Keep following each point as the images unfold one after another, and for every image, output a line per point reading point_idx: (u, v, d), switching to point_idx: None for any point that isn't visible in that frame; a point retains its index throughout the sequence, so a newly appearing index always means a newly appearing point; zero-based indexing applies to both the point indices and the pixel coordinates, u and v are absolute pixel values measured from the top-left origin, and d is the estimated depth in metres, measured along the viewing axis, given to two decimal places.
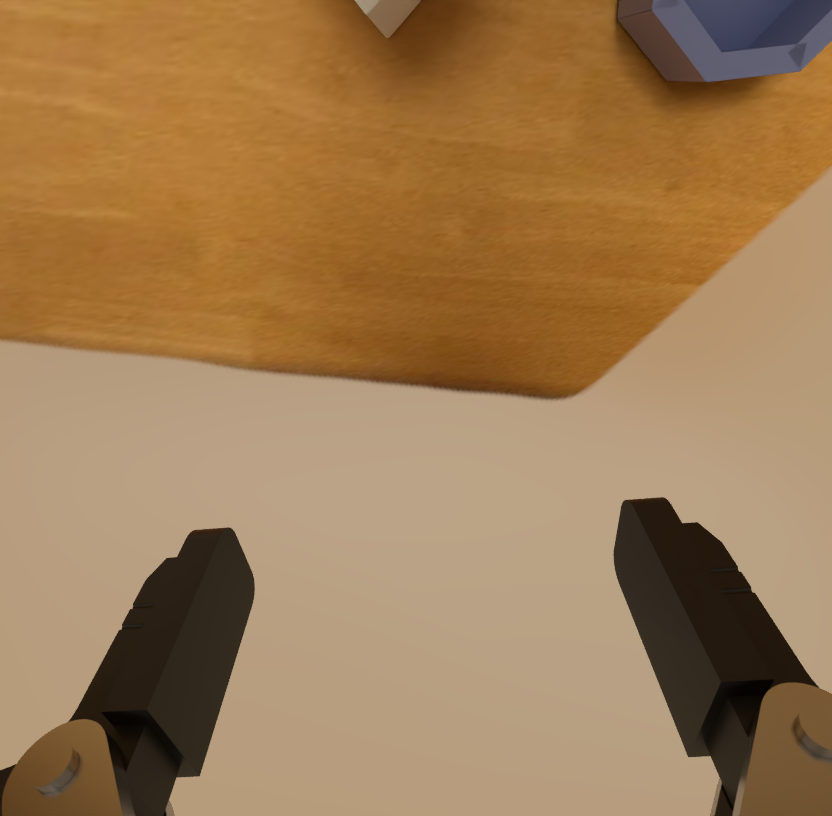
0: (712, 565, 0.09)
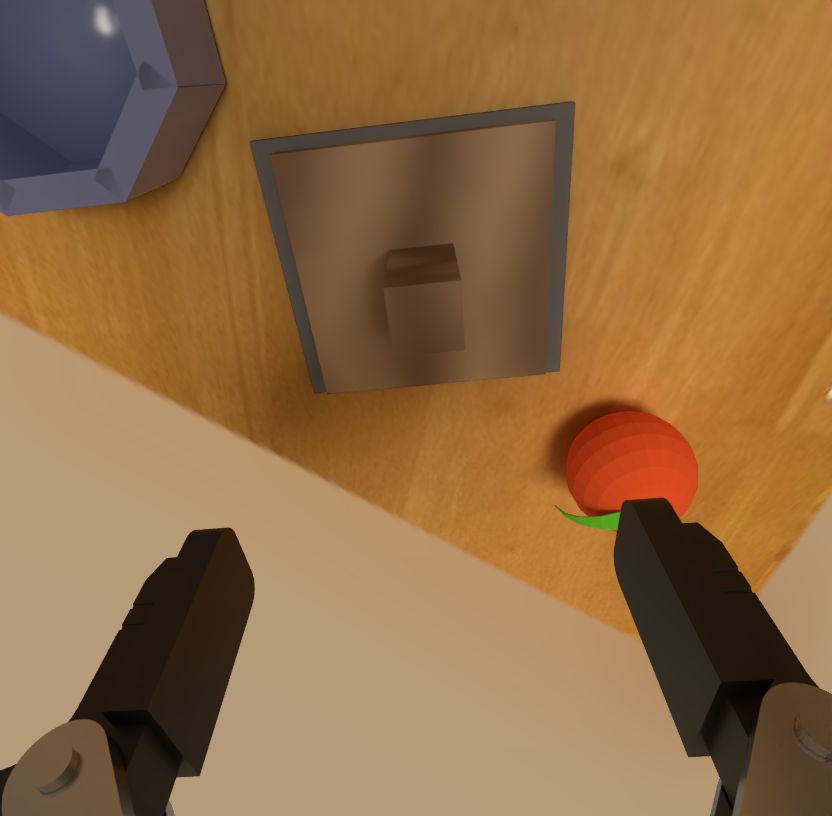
0: (712, 565, 0.09)
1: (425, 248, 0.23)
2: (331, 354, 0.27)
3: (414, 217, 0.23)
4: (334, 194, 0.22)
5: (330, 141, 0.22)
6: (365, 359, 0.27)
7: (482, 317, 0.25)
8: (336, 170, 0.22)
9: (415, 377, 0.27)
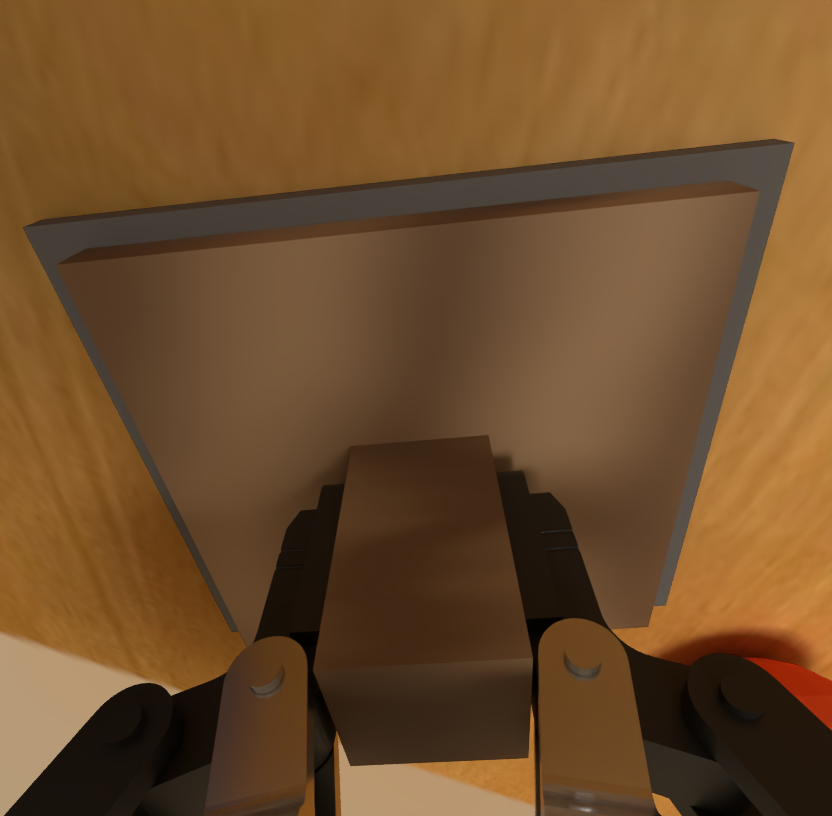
0: (551, 528, 0.10)
1: (428, 450, 0.11)
2: (249, 599, 0.14)
3: (404, 389, 0.10)
4: (221, 346, 0.10)
5: (208, 226, 0.09)
6: None
7: None
8: (220, 298, 0.09)
9: None
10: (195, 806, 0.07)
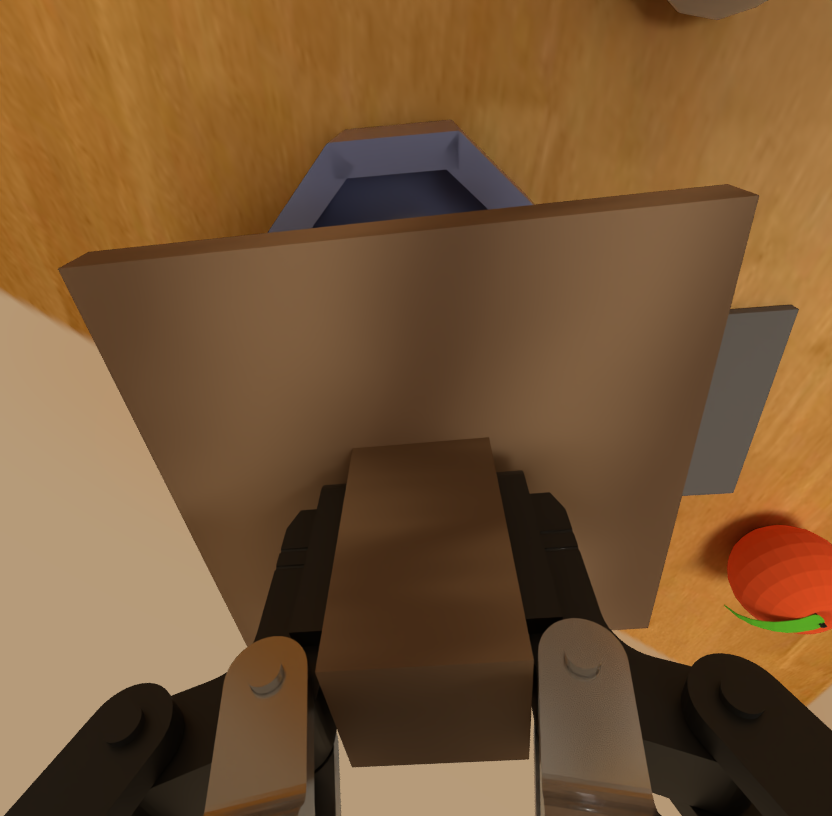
0: (551, 528, 0.10)
1: (429, 452, 0.11)
2: (250, 601, 0.14)
3: (405, 392, 0.10)
4: (223, 349, 0.10)
5: None
6: None
7: None
8: (222, 301, 0.09)
9: None
10: (195, 805, 0.07)
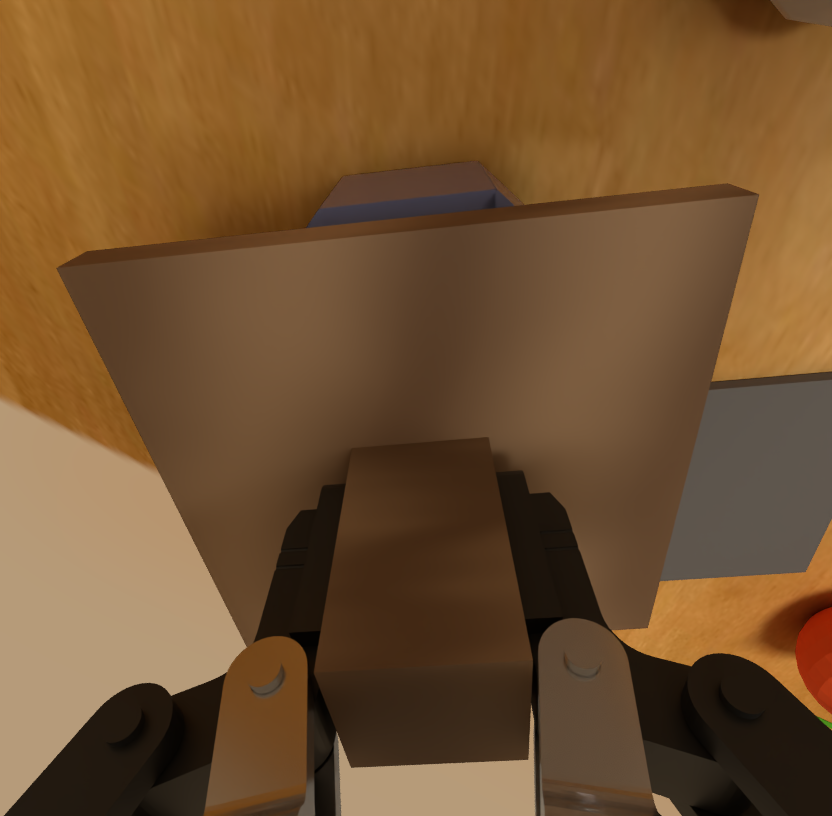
0: (551, 528, 0.10)
1: (428, 452, 0.11)
2: (249, 601, 0.14)
3: (404, 392, 0.10)
4: (222, 348, 0.10)
5: None
6: None
7: None
8: (221, 300, 0.09)
9: None
10: (195, 805, 0.07)
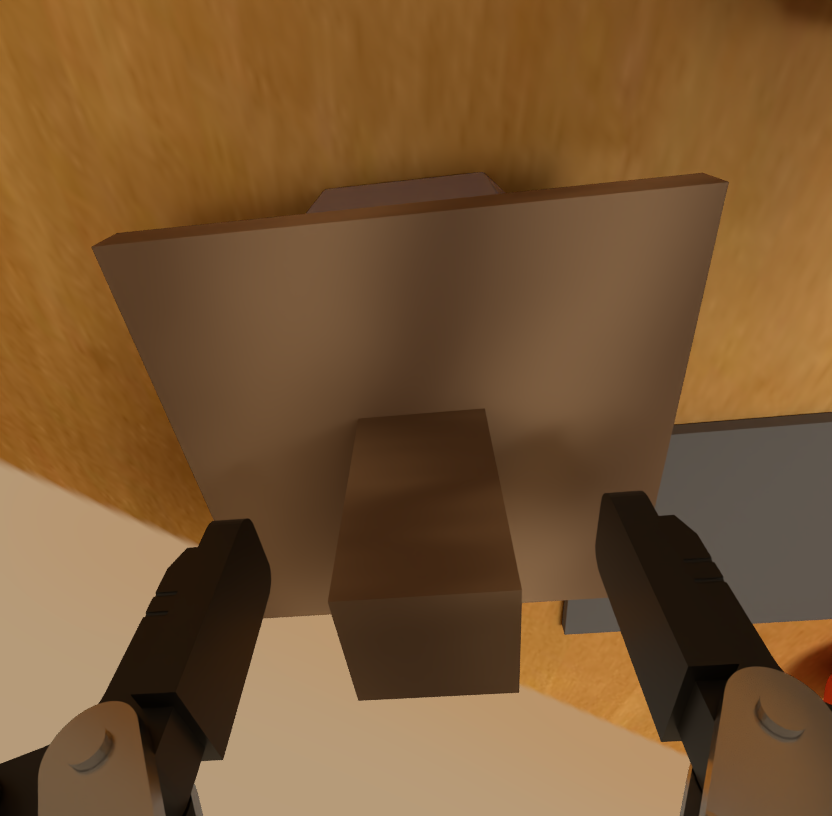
0: (687, 556, 0.09)
1: (429, 421, 0.12)
2: None
3: (407, 365, 0.11)
4: (240, 323, 0.11)
5: (674, 441, 0.20)
6: (321, 575, 0.15)
7: (532, 520, 0.14)
8: (240, 278, 0.10)
9: None
10: None
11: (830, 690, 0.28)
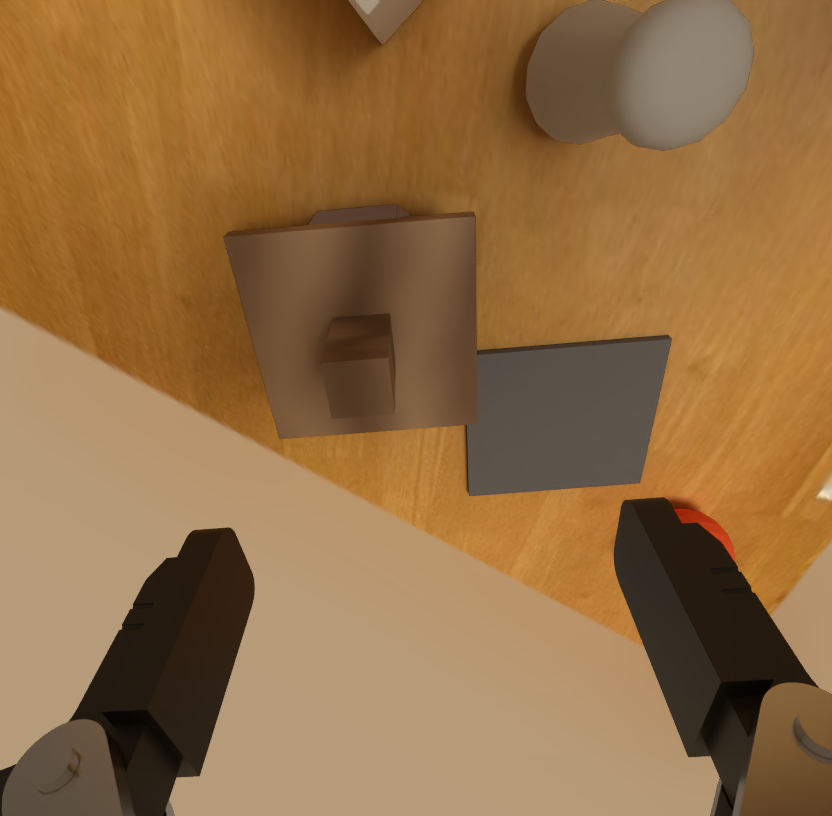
0: (712, 565, 0.09)
1: (364, 318, 0.26)
2: (282, 404, 0.29)
3: (354, 291, 0.26)
4: (282, 270, 0.25)
5: (516, 355, 0.35)
6: (314, 409, 0.29)
7: (418, 375, 0.28)
8: (283, 251, 0.24)
9: (360, 425, 0.30)
10: None
11: None
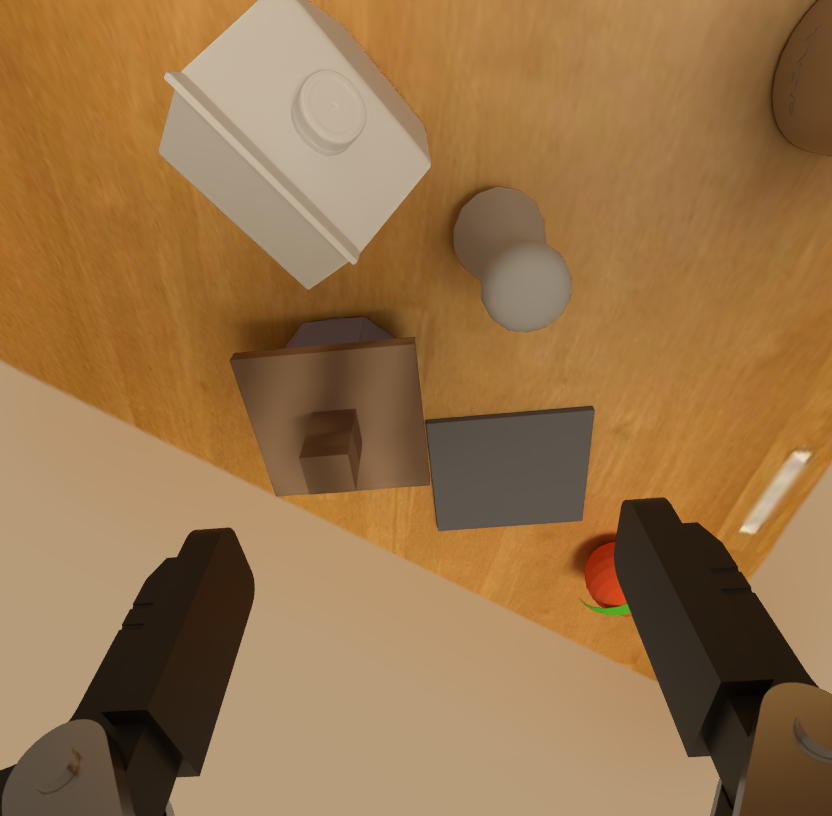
0: (712, 565, 0.09)
1: (336, 413, 0.34)
2: (277, 472, 0.38)
3: (328, 394, 0.34)
4: (273, 381, 0.33)
5: (467, 423, 0.43)
6: (301, 475, 0.38)
7: (380, 451, 0.37)
8: (274, 368, 0.33)
9: None
10: None
11: None
